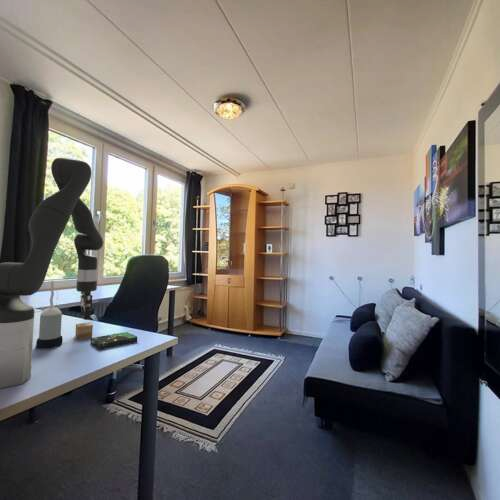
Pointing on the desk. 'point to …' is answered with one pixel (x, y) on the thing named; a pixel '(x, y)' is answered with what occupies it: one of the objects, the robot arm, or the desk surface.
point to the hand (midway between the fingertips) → (85, 317)
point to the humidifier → (50, 326)
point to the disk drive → (113, 340)
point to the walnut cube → (84, 330)
